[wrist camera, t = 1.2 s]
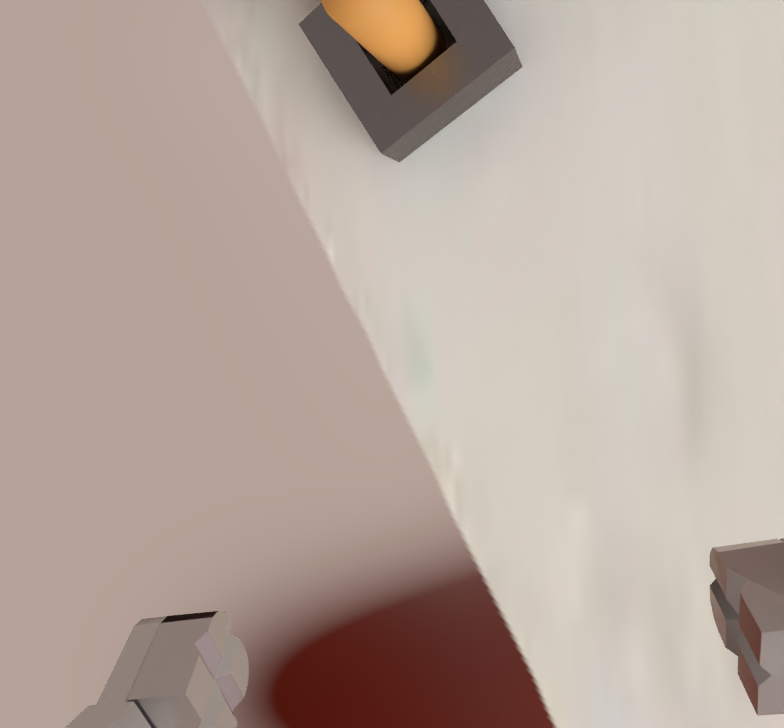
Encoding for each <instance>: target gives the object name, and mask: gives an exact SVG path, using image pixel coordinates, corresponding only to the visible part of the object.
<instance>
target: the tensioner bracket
mask: <svg viewBox="0 0 784 728" xmlns="http://www.w3.org/2000/svg"><path fill="white" fill-rule="evenodd" d="M419 1H420V2H421V4H423V3H424V2H425V1H426V0H419ZM430 1H431V2H432V4H433V6H434V7H435V9H436V10H437V12H438V13H439V15H440V16H441V18H442V19H443V21H444V23H445V24H446V26H447V27H448V29H449V30H450V32H451V33H452V35H453V36H454V38H455V39H456V41H457V42H456V43H454V44H453V45H452V46H451V47H449V48H448V49H447V50H446V51H445V52H443V53H442V54H441V55H440V56H439V57H437V58H436V59H435V60H434V61H432V62H431V63H430V64H429V65H428V66H426V67H425V68H424V69H423V70H422V71H420V72H419V73H418V74H417V75H416V76H414V77H413V78H412V79H411V80H409V81H408V82H407V83H406V84H405V85H403V86H402V87H401V88H400V89H399V90H396V89H395V87H394V86H393V84H392V82H391V81H390V79H389V78H388V76H387V75H386V73H385V72H384V70H383V68H382V67H381V65H380V64H379V62H378V61H377V59H376V58H375V57H374V56H373V55H372V54H371V53H370V52H369V51H367V50H366V49H365V48H364V47H363V46H362V45H361V44H360V43H359V42H358V41H356V40H355V39H354V38H353V37H352V36H351V35H350V34H349V33H348V32H346V31H345V30H344V29H343V28H342V27H341V26H340V25H339V24H338V23H337V22H335V21H334V20H333V19H332V18H331V17H330V16H329V15H328V13H327V12H326V11H325V9H324V7H323V5H322V3H321V4H320V5H319V6H318V7H317V8H316V9H315V10H314V11H313V12H311V13H310V14H309V15H308V16H307V17H306V18H305V19H304V20H303V21H302V22H301V23H300V24H299V25H300V27H301V28H302V30H303V32H304V33H305V35H306V36H307V38H308V39H309V41H310V43H311V44H312V46H313V47H314V49H315V50H316V52H317V54H318V55H319V57H320V58H321V60H322V61H323V63H324V64H325V66H326V68H327V69H328V71H329V72H330V74H331V75H332V77H333V79H334V80H335V82H336V83H337V85H338V86H339V88H340V90H341V91H342V93H343V94H344V96H345V97H346V99H347V101H348V102H349V104H350V105H351V107H352V108H353V110H354V111H355V113H356V115H357V116H358V118H359V119H360V121H361V122H362V124H363V126H364V127H365V129H366V130H367V132H368V133H369V135H370V137H371V138H372V140H373V141H374V143H375V144H376V146H377V148H378V149H379V151H380V152H381V153H382V154H384V155H386V156H388V157H390V158H392V159H394V160H396V161H398V162H400V161H402V160H403V159H404V158H405V157H407V156H408V155H409V154H411V153H412V152H413V151H414V150H416V149H417V148H418V147H420V146H421V145H422V144H424V143H425V142H426V141H427V140H429V139H430V138H431V137H433V136H434V135H435V134H436V133H438V132H439V131H440V130H442V129H443V128H444V127H445V126H447V125H448V124H449V123H451V122H452V121H453V120H454V119H456V118H457V117H458V116H460V115H461V114H462V113H463V112H465V111H466V110H467V109H469V108H470V107H471V106H472V105H474V104H475V103H476V102H478V101H479V100H480V99H481V98H483V97H484V96H485V95H487V94H488V93H489V92H490V91H492V90H493V89H494V88H496V87H497V86H498V85H500V84H501V83H502V82H503V81H505V80H506V79H507V78H509V77H510V76H511V75H512V74H514V73H515V72H516V71H518V70H519V69H520V68H521V67H522V65H521V63H520V60H519V58H518V55H517V53H516V50H515V48H514V46H513V45H512V43H511V42H510V40H509V38H508V37H507V35H506V34H505V32H504V31H503V29H502V28H501V26H500V25H499V23H498V22H497V20H496V18H495V17H494V15H493V14H492V12H491V11H490V9H489V8H488V6H487V5H486V3H485V2H484V0H430Z"/></svg>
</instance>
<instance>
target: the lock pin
mask: <svg viewBox="0 0 784 728" xmlns="http://www.w3.org/2000/svg"><path fill="white" fill-rule="evenodd" d="M321 2H322V5H323V7H324V9H325V11H326V12H327V13H328V15H329V16H330V17H331V18H332V19H333V20H334V21H335V22H337V23H338V24H339V25H340V26H341V27H342V28H343V29H344V30H345V31H346V32H348V33H349V34H350V35H351V36H352V37H353V38H354V39H355V40H356V41H358V42H359V43H360V44H361V45H362V46H363V47H364V48H365V49H366V50H367V51H369V52H370V53H371V54H372V55H373V56H374V57H375V58H376V59H377V60H378V61H380V62H381V63H382V64H383V65H384V66H385V67H386V68H387V69H388V70H389V71H391V72H392V73H393V74H394V75H395V76H396V77H397V78H398V79H399V80H401V81H402V82H403V83H405V84H406V83H407V82H408V81H409V80H411V79H412V78H413V77H414V76H416V75H417V74H418V73H419V72H420V71H422V70H423V69H424V68H425V67H426V66H428V65H429V64H430V63H431V62H432V61H434V60H435V59H436V58H437V57H439V56H440V55H441V54H442V53H443V52H445V51H446V50H447V49H448V48H447V43H446V40H445V38H444V36H443V34H442V33H441V31H440V30H439V28H438V27H437V25H436V24H435V23H434V21H433V20H432V18H431V17H430V15H429V14H428V12H427V11H426V10H425V8H424V7H423V5H422V4H421V2H420V1H419V0H321Z"/></svg>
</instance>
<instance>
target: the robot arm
mask: <svg viewBox="0 0 784 728" xmlns="http://www.w3.org/2000/svg"><path fill="white" fill-rule="evenodd" d="M710 567H711V569H712V571H713V573H714V575H715V577H716V579H715V580H714V582H713V583H712V584H711V585H710V601H711V606H712V611H713V616H714V620H715V622H716V625H717V628H718V631H719V634H720V636H721V638H722V640H723V643H724V645H725V647H726V648H727V649H729V650H730V651H731V652H733V653H734V654H736V655H737V656H738V675H739V677H740V680H741V682H742V684H743V686H744V688H745V690H746V692H747V694H748V696H749V699H750V701H751V703H752V705H753V707H754V709H755V711H756V713H757V715H771V714H784V538H782V539H780V540H779V539H772V540H765V541H757V542H750V543H743V544H736V545H728V546H721V547H714V548H712V550H711V552H710ZM231 627H232V623H231V621H230V619H229V617H228V615H227V614H226V612H225V611H213V612H204V613H193V614H183V615H173V616H166V617H157V618H147V619H142V620H140V621H139V622H138V623H137V624H136V625H135V626H134V628H133V630H132V632H131V634H130V636H129V638H128V640H127V642H126V644H125V647H124V649H123V651H122V653H121V655H120V657H119V659H118V661H117V663H116V665H115V667H114V670H113V671H112V673H111V676H110V678H109V680H108V682H107V684H106V686H105V688H104V690H103V692H102V694H101V696H100V699H99V701H98V703H97V705H91V706H88V707H87V708H86V709H85V710H84V711H83V712H81V713H80V714H79V715H78V716H77V717H76V718H75V719H74V720H73V721H72V722H71V723H70V724H69V725H67V726H66V727H65V728H236V726H237V720H236V718H235V716H234V713H233V711H232V710H233V709H234V708H235V707H236V706H237V705H238V704H239V703H240V701H241V700H242V699H243V698H244V696H245V692H246V688H247V684H248V667H249V663H248V658H247V654H246V650H245V648H244V646H243V644H242V642H241V641H240V640H239V639H237V638H235V637H234V636H232V635H231V634H229V633H230V630H231Z"/></svg>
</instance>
